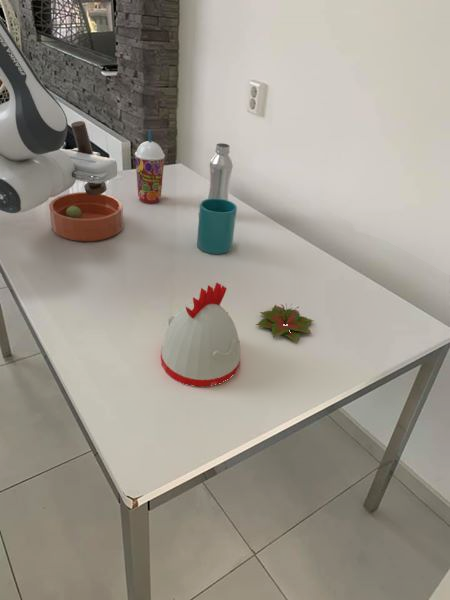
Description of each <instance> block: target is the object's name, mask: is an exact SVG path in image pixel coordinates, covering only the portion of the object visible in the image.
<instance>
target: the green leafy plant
mask: <svg viewBox="0 0 450 600" xmlns="http://www.w3.org/2000/svg"><path fill="white" fill-rule="evenodd" d="M292 304H293V303H291V304H290V306H292ZM280 305H281V306H278V305H276V304H274V305H273V307H272V309H271V310H270V309H269V310H265V311H260V312H259V313H260V314H261V315H262V316H263V317H265V318H262V319H261V320H259V322H258V323H256V324H255V326H258V327H262V328H265V329H266V328H267V329H271V331H272V334H273V335H272V338H273V339H274V338H276V337H278V336H280V335H284V336H286V337H287V338H289V339H290V340H292V341H294V342H295V343H297V344H298V341H299V339H300V337H301V332H302V333H305V334H308V335H313V333H312V332H311V330H310V329H309V328H310V327H308V326H309V325H310V324H312V323H313V322H314V320H313V319H310V318H307V317H306V316H301V315H300V311H299V310H297V309H299V306H297V307H295V308H294V309H292V308H293V307H290V308H287V307H288V305H287V304H285V306H286V307H285V306H284V305H283V304H280ZM283 324H285V325H286V324H288V326H283ZM289 330H290V332H291V333H290V332H289Z"/></svg>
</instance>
